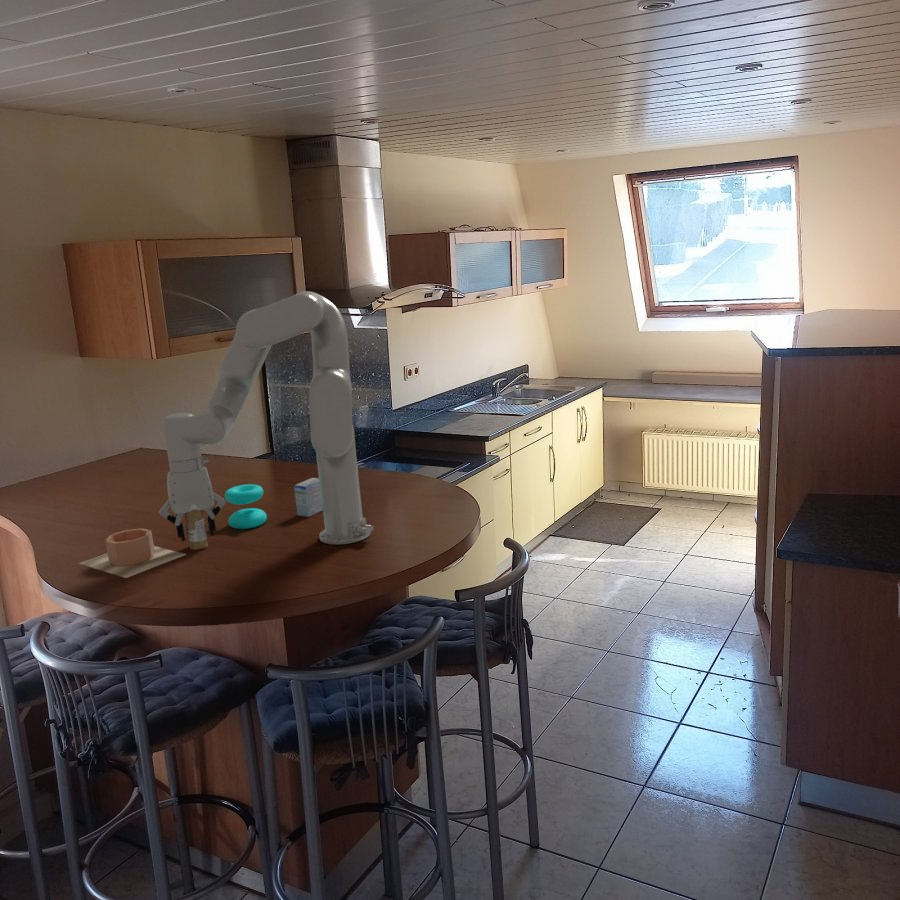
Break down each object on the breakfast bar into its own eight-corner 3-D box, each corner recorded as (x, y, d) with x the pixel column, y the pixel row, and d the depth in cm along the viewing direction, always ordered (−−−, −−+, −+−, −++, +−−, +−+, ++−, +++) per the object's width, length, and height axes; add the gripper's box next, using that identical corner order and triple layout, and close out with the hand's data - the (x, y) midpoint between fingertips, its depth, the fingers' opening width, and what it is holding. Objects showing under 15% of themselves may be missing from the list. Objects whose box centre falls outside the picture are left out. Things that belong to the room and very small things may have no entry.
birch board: (187, 560, 197) (186, 554, 197) (127, 584, 185) (126, 577, 185) (139, 547, 209) (138, 541, 209) (79, 569, 197) (78, 563, 197)
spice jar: (186, 553, 202) (178, 500, 199) (202, 547, 205) (194, 495, 202) (197, 556, 199) (188, 503, 196) (213, 550, 202) (205, 498, 199)
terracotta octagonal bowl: (162, 555, 198) (158, 532, 196) (125, 569, 190) (121, 545, 189) (139, 549, 203) (135, 526, 202) (102, 562, 196) (98, 539, 195)
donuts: (215, 491, 218) (244, 481, 226) (221, 527, 220) (249, 516, 228) (241, 495, 212) (270, 485, 220) (247, 532, 214) (275, 520, 222)
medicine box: (315, 507, 232) (312, 477, 230) (328, 508, 229) (324, 478, 227) (297, 515, 225) (293, 485, 223) (309, 517, 223) (305, 486, 221)
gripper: (221, 456, 204) (231, 525, 208) (147, 468, 197) (159, 539, 202) (225, 462, 197) (235, 534, 201) (149, 474, 191) (161, 548, 195)
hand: (197, 536), depth 201 cm, fingers open, 6 cm apart
